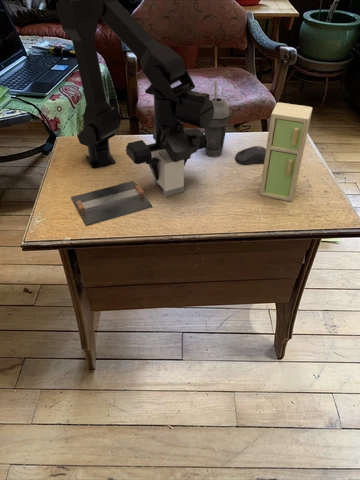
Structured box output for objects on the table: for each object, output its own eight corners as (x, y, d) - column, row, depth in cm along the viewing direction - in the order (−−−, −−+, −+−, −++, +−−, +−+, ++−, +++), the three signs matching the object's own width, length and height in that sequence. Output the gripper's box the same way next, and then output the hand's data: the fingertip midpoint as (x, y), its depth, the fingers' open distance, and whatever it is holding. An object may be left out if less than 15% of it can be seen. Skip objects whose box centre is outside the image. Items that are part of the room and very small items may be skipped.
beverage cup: (210, 162, 112) (215, 89, 99) (195, 151, 117) (198, 80, 104) (231, 155, 115) (238, 83, 102) (216, 144, 120) (221, 74, 107)
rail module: (153, 182, 104) (152, 149, 98) (171, 178, 106) (170, 145, 100) (165, 196, 99) (164, 163, 93) (183, 191, 101) (184, 158, 95)
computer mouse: (233, 156, 115) (234, 143, 112) (265, 154, 116) (267, 141, 113) (237, 166, 111) (239, 153, 108) (271, 164, 112) (273, 151, 109)
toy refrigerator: (257, 196, 99) (270, 114, 86) (264, 181, 105) (277, 101, 91) (290, 204, 97) (309, 120, 84) (295, 188, 102) (314, 106, 89)
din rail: (71, 198, 98) (70, 191, 97) (133, 182, 104) (132, 176, 103) (86, 226, 90) (85, 219, 89) (152, 207, 96) (152, 200, 95)
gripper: (142, 139, 82) (146, 203, 92) (222, 122, 88) (217, 183, 98) (122, 118, 89) (127, 179, 99) (197, 103, 96) (195, 162, 106)
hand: (168, 176), depth 100 cm, fingers open, 6 cm apart
